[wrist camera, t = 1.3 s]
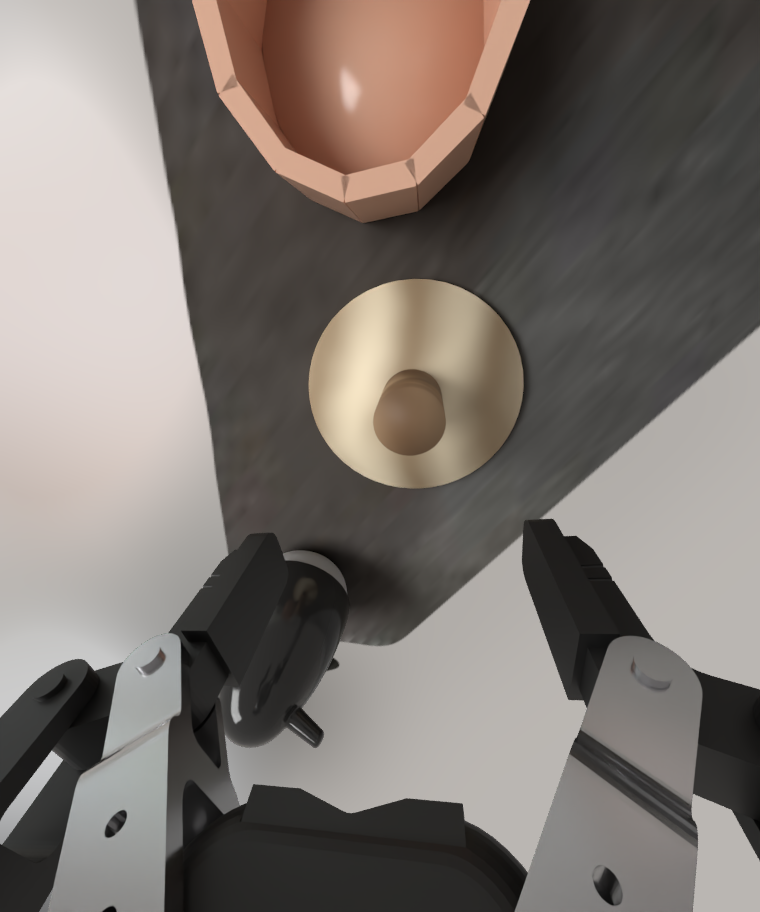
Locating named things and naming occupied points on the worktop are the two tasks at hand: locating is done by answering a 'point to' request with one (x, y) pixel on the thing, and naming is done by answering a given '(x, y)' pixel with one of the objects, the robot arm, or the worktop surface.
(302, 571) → the pump dispenser
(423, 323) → the lid
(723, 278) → the worktop surface
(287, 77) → the bowl
